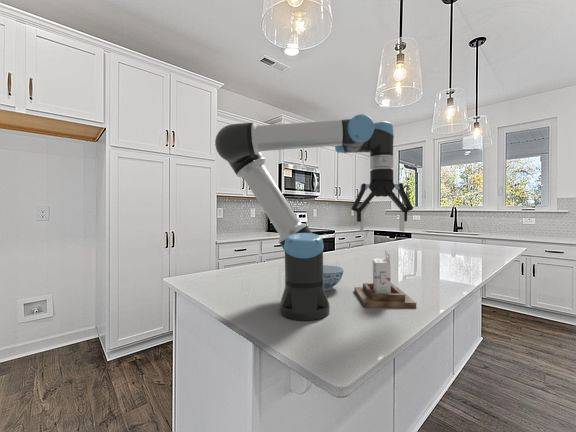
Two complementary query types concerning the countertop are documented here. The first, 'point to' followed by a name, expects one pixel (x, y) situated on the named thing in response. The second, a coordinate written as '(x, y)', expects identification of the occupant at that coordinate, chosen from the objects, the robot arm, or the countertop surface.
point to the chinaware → (331, 276)
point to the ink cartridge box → (382, 275)
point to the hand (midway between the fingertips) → (381, 231)
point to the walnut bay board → (383, 297)
